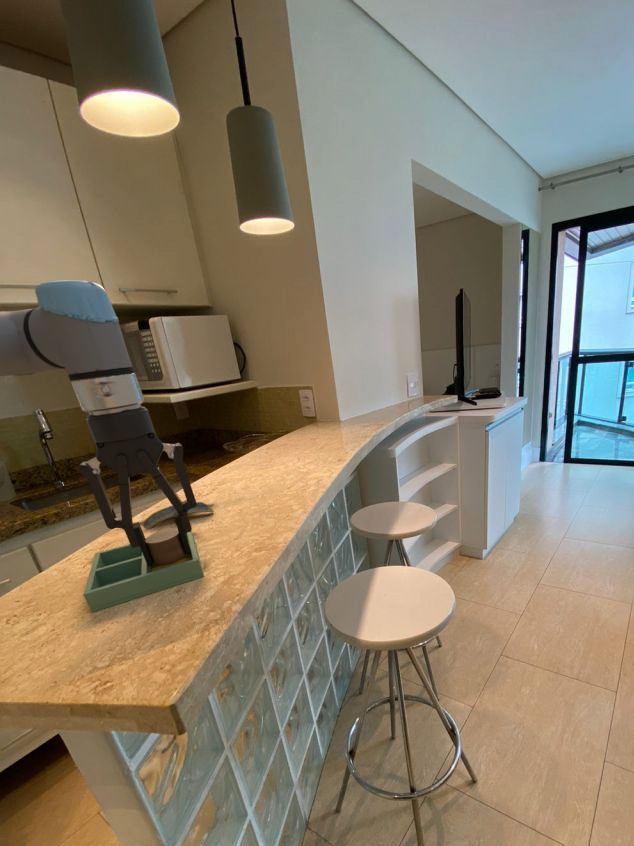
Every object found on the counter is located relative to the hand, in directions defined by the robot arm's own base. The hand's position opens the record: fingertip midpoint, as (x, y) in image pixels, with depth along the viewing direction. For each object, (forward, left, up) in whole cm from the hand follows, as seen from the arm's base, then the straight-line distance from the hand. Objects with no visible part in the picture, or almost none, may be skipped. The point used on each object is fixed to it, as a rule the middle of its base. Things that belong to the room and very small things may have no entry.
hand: (169, 556), depth 65 cm
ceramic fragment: (-26, +2, -4) cm, 26 cm away
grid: (-4, -4, -3) cm, 6 cm away
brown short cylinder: (0, 0, 0) cm, 0 cm away
